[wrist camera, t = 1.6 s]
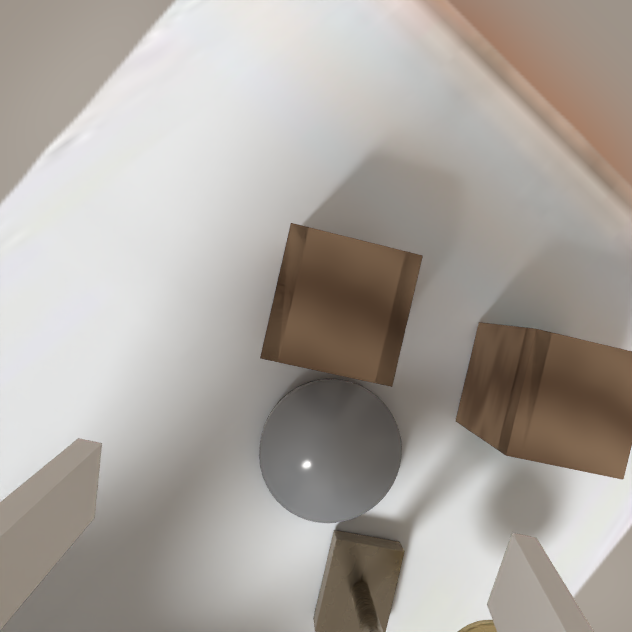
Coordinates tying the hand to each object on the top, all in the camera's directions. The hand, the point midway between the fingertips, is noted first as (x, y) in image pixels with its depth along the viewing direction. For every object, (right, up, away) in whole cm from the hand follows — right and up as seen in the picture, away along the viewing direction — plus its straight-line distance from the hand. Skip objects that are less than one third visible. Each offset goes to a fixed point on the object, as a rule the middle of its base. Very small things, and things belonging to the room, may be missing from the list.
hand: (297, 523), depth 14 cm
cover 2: (+18, +1, +25) cm, 31 cm away
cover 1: (+2, +7, +23) cm, 25 cm away
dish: (+2, -5, +24) cm, 24 cm away
